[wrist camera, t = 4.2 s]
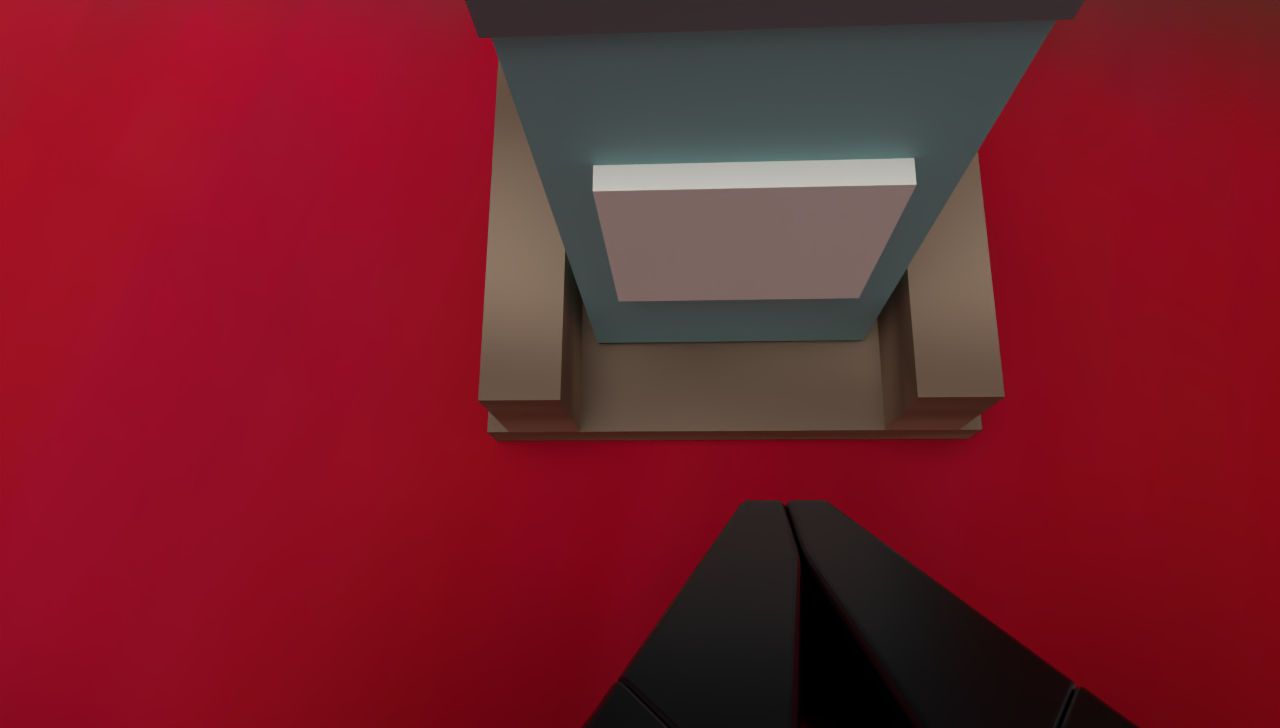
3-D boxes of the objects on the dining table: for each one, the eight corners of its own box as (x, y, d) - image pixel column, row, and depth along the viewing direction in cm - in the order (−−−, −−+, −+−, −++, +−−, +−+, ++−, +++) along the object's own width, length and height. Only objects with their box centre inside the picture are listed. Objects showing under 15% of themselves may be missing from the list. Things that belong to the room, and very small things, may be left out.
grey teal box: (869, 356, 20) (1112, -10, 8) (592, 360, 20) (457, 12, 9) (852, 100, 22) (1031, -491, 10) (598, 107, 22) (493, -458, 10)
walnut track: (968, 438, 20) (1032, 396, 17) (496, 440, 21) (452, 401, 17) (921, -43, 24) (965, -168, 20) (521, -29, 25) (489, -147, 21)
